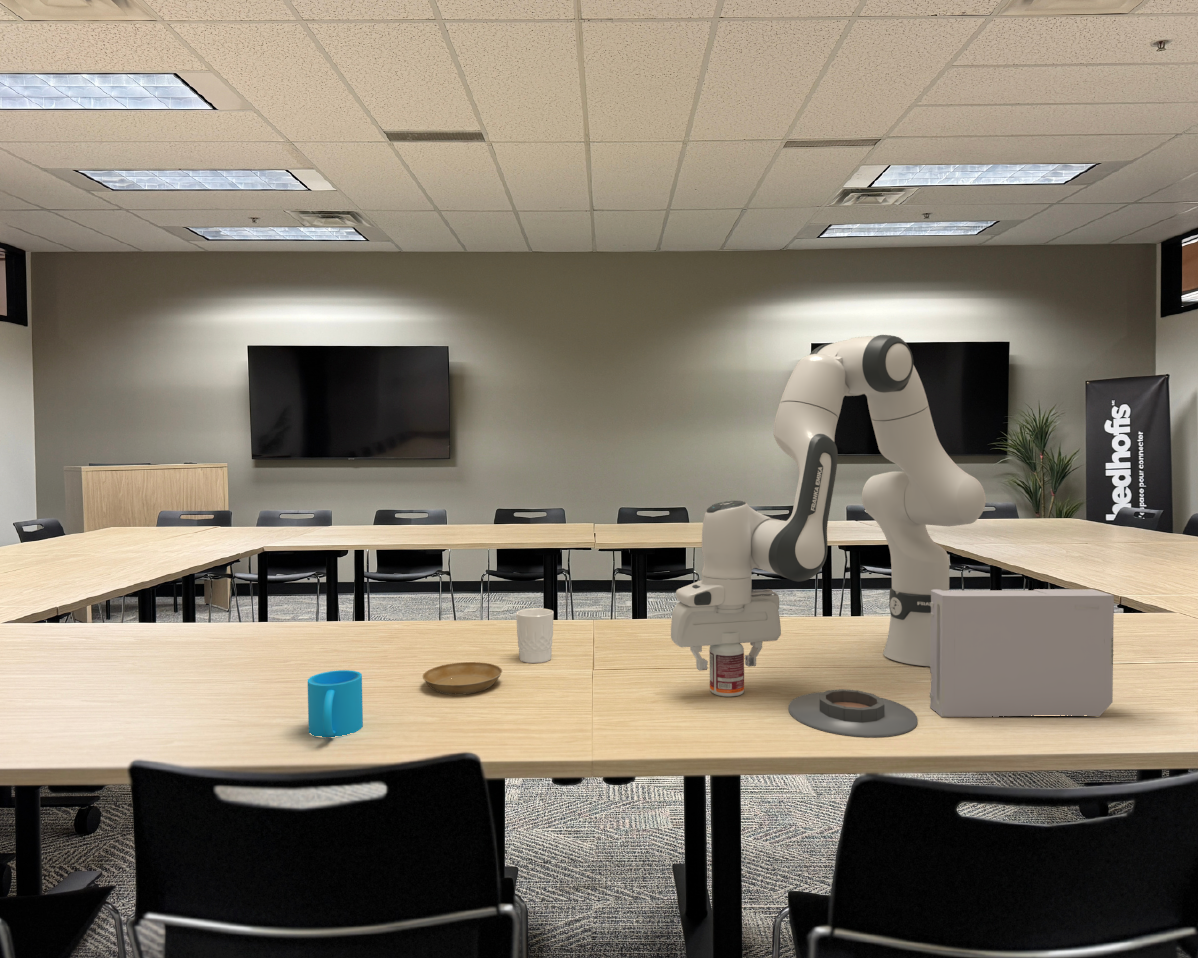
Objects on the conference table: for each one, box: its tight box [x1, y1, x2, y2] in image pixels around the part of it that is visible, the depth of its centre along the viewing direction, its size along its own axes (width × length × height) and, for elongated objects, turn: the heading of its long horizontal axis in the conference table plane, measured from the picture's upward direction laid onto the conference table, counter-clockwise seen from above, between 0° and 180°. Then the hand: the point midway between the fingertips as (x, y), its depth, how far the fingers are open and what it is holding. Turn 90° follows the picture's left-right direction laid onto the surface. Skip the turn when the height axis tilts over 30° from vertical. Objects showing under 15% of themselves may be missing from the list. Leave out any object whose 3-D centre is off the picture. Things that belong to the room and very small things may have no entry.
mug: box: [307, 669, 364, 737], centre depth 115 cm, size 12×8×8 cm
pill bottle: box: [708, 632, 745, 698], centre depth 133 cm, size 6×6×11 cm
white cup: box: [515, 607, 554, 664], centre depth 156 cm, size 8×8×10 cm
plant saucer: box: [422, 661, 503, 695], centre depth 138 cm, size 15×15×3 cm
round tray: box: [788, 688, 918, 738], centre depth 121 cm, size 20×20×2 cm
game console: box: [929, 588, 1115, 718], centre depth 121 cm, size 6×27×20 cm, turn 88°
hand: (726, 667), depth 133 cm, fingers open, 8 cm apart
